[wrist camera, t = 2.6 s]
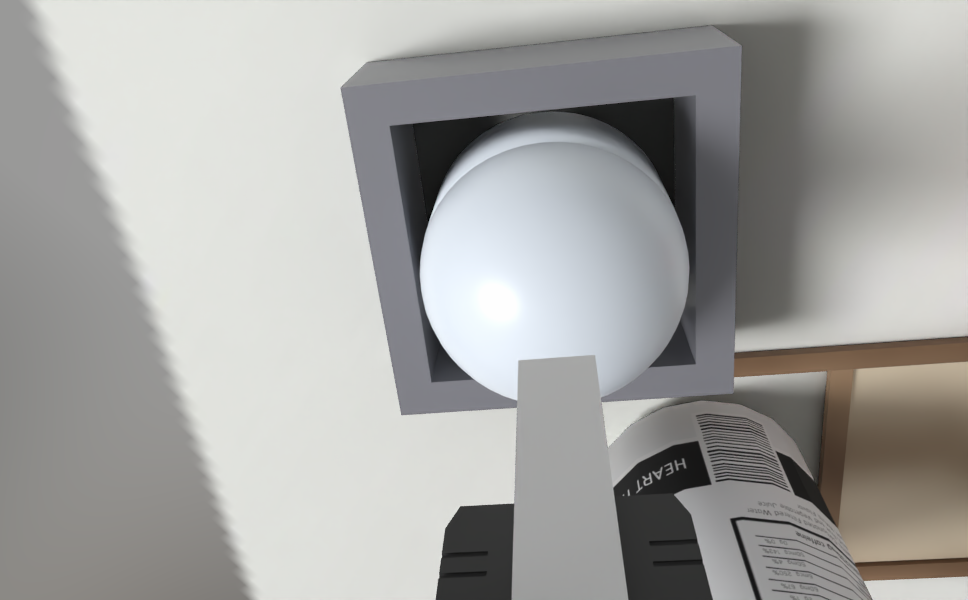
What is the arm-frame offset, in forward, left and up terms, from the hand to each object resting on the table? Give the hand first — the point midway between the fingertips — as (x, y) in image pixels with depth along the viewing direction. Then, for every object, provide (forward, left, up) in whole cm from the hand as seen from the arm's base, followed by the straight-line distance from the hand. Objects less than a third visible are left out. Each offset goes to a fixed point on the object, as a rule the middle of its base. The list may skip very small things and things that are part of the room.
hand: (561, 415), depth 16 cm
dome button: (0, 0, -11) cm, 11 cm away
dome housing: (0, 0, -13) cm, 13 cm away
